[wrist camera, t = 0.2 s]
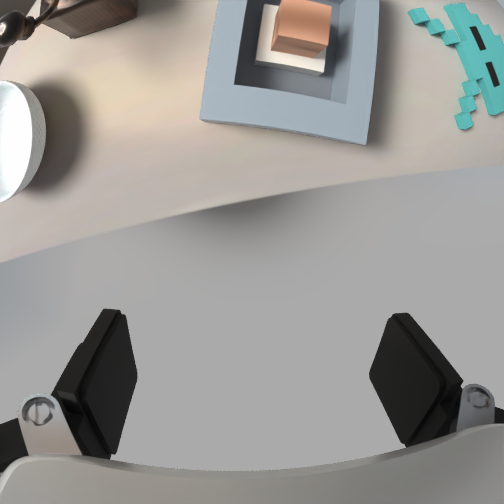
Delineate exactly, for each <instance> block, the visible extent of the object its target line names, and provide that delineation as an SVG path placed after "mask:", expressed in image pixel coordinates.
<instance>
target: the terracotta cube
mask: <svg viewBox="0 0 504 504" xmlns="http://www.w3.org/2000/svg"><path fill="white" fill-rule="evenodd" d="M331 9H332V6H328V5H324V4H320V3H316V2H312V1H308V0H282V1H281V3H280V6H279V8H278V10H277V13H276V15H275V22H274V29H273V36H272V43H271V50H270V51H276V52H282V53H288V54H293V55H298V56H303V57H308V58H314V57H315V56H316V55H317V54H319V53H320V52H321V51H322V50H323V49H324V48H326V47H327V46H328V40H329V30H330V20H331Z"/></svg>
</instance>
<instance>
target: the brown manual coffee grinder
mask: <svg viewBox="0 0 504 504" xmlns="http://www.w3.org/2000/svg"><path fill="white" fill-rule="evenodd" d="M137 9H138V0H41V7H40V16H39V17H37V18H36V19H34V18H33V17H31V16H28V17H25V15H24V14H23V13H22V12H21V11H17V10H14V11H12V12H10V13H8V14H6V15H4V16H2V17H1V18H0V47H4V46H10V45H13V44H14V43H15V42H16V41H17V40H27V39H28V38H29V37H30V36H31V35H32V34H33V32H34V30H35V28H36V27H38V26H39V25H40V24H45V25H47V26H49V27H51V28H53V29H55V30H57V31H59V32H61V33H63V34H65V35H67V36H69V37H70V39H72V38H76V37H80V36H84V35H87V34H90V33H93V32H96V31H99V30H102V29H105V28H109V27H112V26H115V25H118V24H120V23H123V22H125V21H128V20H130V19H133V18H136V14H137Z"/></svg>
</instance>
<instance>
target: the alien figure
mask: <svg viewBox="0 0 504 504" xmlns="http://www.w3.org/2000/svg"><path fill="white" fill-rule="evenodd" d="M444 9H445V11H446V13H447V15H448V17H449V18H450V20H451V22H452V24H453V26H454V28H455V30H456V32H457V34H458V36H459V38H460V40H461V42H460V41H459V39H458V37H457V35H456V33H455V31H454V29H453V30H447V31H445V29H444V27H443V25H442V23H441V21H440V19H432V20H430V19H429V17H428V15H427V14H426V12H425V10H424V8H417V9H412V10H411V11H409V12H408V14H409V16H410V17H411V19H412V21H413V23H414V24H419V23H424V24H425V25H426V27H427V29H428V31H429V33H430V35H432V34H437V33H439V34H440V36H441V38H442V40H443V42H444V44H445V45H449V44H454V46H455V48H456V50H457V52H458V55H459V57H460V59H461V62H462V64H463V66H464V69H465V71H466V74H467V76H468V79H469V81H466V82H463V83H462V86H463V89H464V91H465V94H466V96H465V97H462V98H459V99H458V100H459V103H460V106H461V109H462V112H461V113H459V114H457V115H455V119H456V122H457V126H458V129H467V128H469V127H471V126H473V122H472V119H471V115H470V112H471V111H473V110H475V109H477V106H476V103H475V100H474V97H473V95H476V94H478V93H480V90H479V87H480V89H481V92H482V95H483V98H484V101H485V105H486V108H487V111H488V114H489V115H496V114H498V113H500V112H503V111H504V44H503V42H502V39H501V37H500V35H493V33H492V30H491V28H490V26H489V24H487V25H482V23H481V21H480V19H479V17H478V15H477V14H470V13H469V11H468V9H467V7H466V6H465V4H464V3H460V4H449V5H447V6H444ZM476 80H477V81H478V84H479V87H478V84H477V82H476Z"/></svg>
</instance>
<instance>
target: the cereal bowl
mask: <svg viewBox="0 0 504 504" xmlns="http://www.w3.org/2000/svg"><path fill="white" fill-rule="evenodd" d="M45 140H46V123H45V117H44V113H43V110H42V107H41V104H40V102H39V100H38V99H37V97H36V95H34V93H33V92H32V91H31V90H30V89H28V88H27V87H25V86H24V85H22V84H20V83H16V82H12V81H0V202H4V201H6V200H8V199H10V198H12V197H13V196H15V195H17V194H18V193H20V192H21V191H22V190H23V189H24V188H25V187H26V186H27V185H28V184H29V183H30V181H31V180H32V179H33V177H34V175H35V174H36V171H37V170H38V167H39V165H40V163H41V160H42V156H43V153H44V148H45Z"/></svg>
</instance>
